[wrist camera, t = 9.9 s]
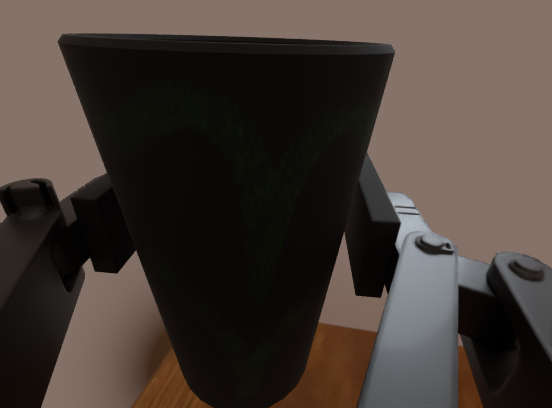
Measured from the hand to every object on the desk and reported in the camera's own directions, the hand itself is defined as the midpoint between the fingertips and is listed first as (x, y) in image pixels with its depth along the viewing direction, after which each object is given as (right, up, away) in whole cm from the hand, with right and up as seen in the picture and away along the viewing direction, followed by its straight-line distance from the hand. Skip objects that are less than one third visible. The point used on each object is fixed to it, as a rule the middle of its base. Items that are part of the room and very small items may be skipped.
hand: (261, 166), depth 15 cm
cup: (-1, -8, -1) cm, 8 cm away
